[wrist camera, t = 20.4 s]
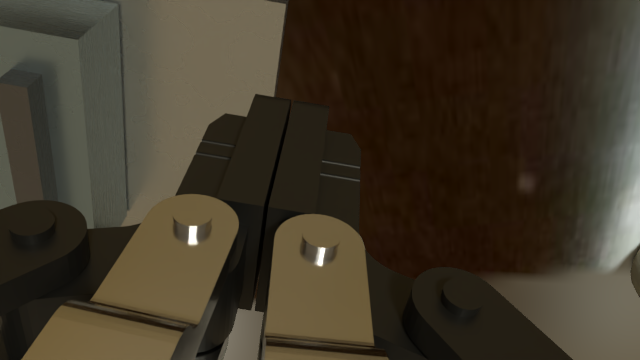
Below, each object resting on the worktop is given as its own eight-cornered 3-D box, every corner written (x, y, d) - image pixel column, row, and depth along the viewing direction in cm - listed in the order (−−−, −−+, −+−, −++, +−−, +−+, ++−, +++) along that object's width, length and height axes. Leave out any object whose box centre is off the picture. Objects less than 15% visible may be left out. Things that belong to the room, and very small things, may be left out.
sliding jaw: (118, 3, 29) (63, 52, 24) (127, 214, 37) (87, 285, 32) (-81, -33, 28) (-182, 8, 23) (-28, 188, 36) (-94, 256, 31)
